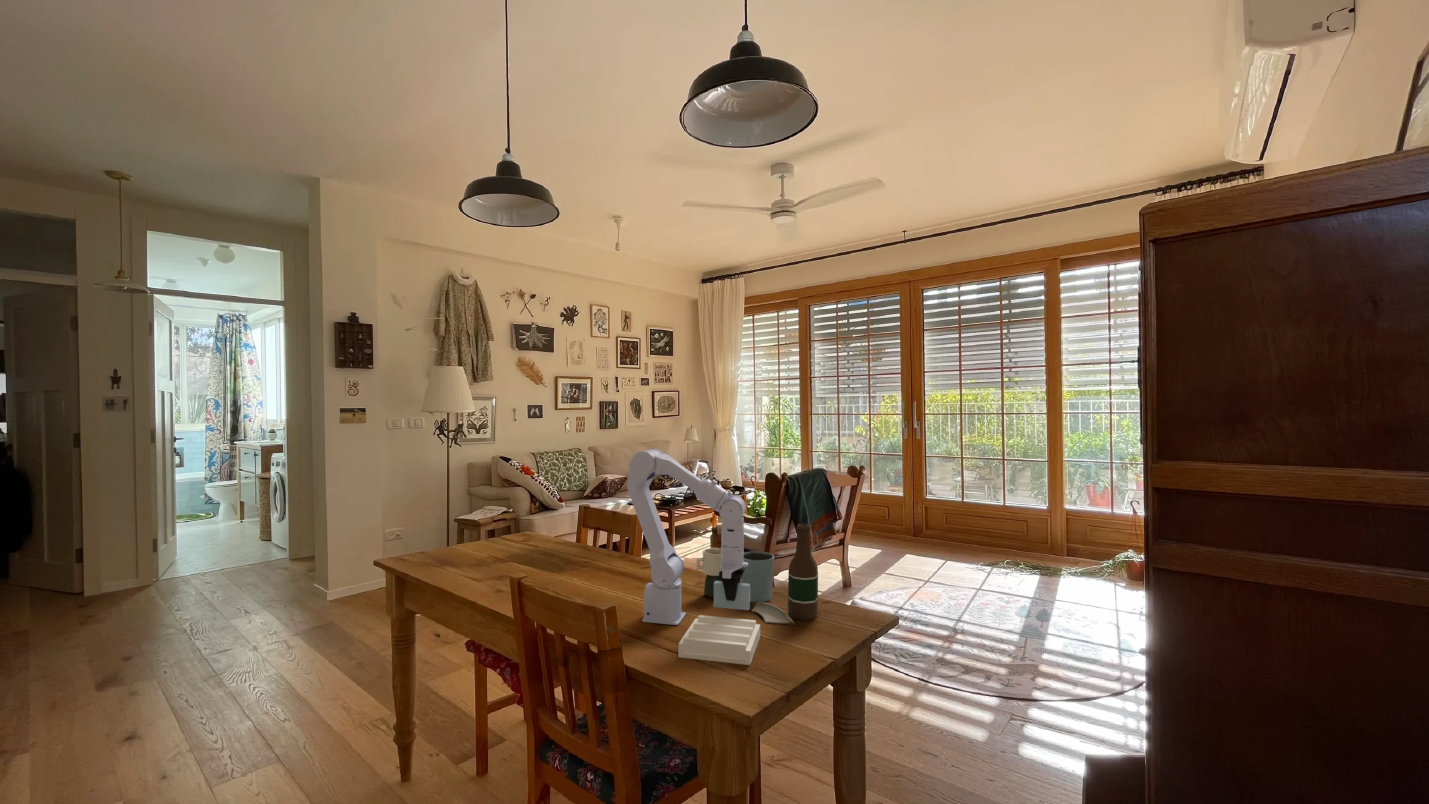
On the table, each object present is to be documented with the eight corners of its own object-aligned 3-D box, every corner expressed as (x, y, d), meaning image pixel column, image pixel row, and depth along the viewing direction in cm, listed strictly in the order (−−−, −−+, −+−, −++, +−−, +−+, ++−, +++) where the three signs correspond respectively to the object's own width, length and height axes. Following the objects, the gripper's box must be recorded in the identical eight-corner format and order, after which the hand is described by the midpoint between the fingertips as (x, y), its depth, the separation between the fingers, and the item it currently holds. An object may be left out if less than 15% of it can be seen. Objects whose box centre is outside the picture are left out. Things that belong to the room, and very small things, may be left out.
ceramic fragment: (795, 626, 145) (795, 611, 145) (781, 631, 141) (781, 615, 141) (756, 611, 155) (756, 597, 155) (742, 616, 152) (742, 601, 152)
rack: (678, 657, 126) (678, 639, 126) (695, 630, 140) (695, 614, 140) (750, 665, 122) (750, 646, 122) (760, 636, 137) (760, 620, 137)
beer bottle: (804, 623, 146) (805, 529, 145) (781, 614, 151) (782, 524, 151) (823, 615, 151) (824, 525, 151) (801, 607, 157) (801, 520, 156)
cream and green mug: (729, 590, 170) (729, 546, 170) (736, 598, 163) (736, 552, 163) (693, 593, 168) (693, 548, 168) (699, 601, 161) (699, 555, 161)
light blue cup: (748, 605, 158) (749, 561, 158) (733, 593, 167) (733, 552, 167) (780, 600, 162) (781, 558, 162) (763, 589, 172) (764, 549, 171)
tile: (713, 606, 144) (713, 583, 144) (715, 604, 146) (715, 580, 146) (748, 610, 142) (749, 586, 142) (750, 607, 144) (750, 583, 144)
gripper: (743, 553, 136) (742, 610, 136) (752, 539, 150) (751, 590, 150) (714, 551, 138) (713, 607, 138) (726, 537, 152) (725, 588, 152)
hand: (731, 598), depth 144 cm, fingers closed on tile, 2 cm apart
